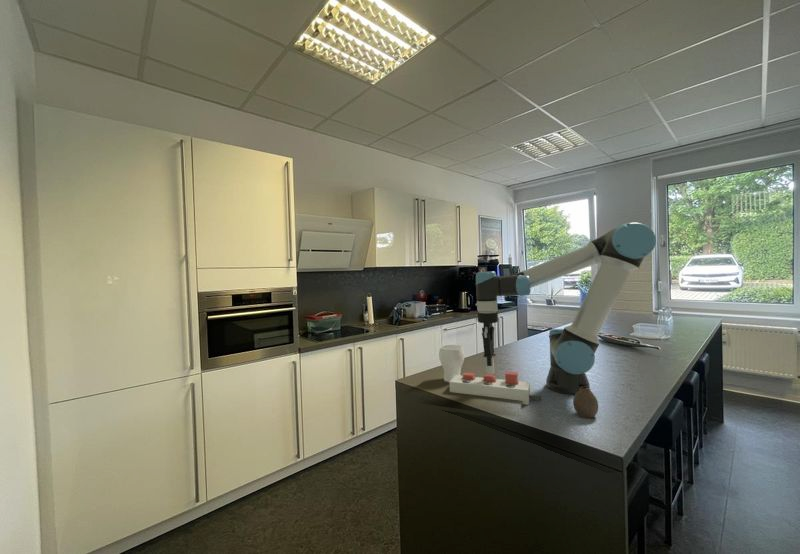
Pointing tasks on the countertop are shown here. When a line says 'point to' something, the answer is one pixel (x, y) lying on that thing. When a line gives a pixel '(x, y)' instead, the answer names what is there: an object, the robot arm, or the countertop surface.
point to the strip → (493, 388)
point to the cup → (451, 360)
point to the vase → (585, 402)
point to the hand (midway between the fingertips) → (490, 373)
